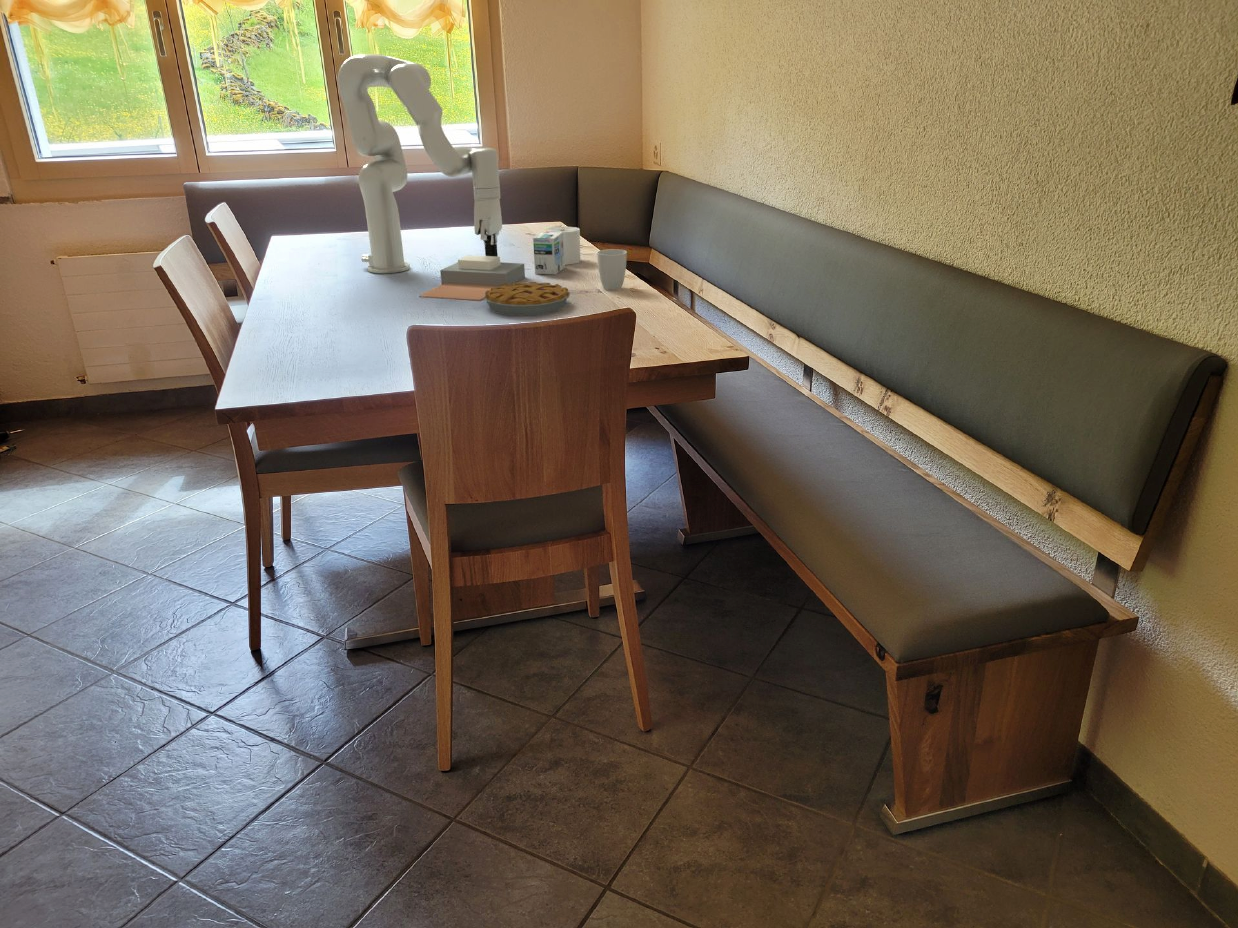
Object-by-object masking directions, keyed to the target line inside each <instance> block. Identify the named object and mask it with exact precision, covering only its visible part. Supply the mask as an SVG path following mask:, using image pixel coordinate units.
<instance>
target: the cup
mask: <svg viewBox="0 0 1238 928" xmlns="http://www.w3.org/2000/svg"><path fill="white" fill-rule="evenodd" d="M596 255H597V256H596V257H597V268H598V273H599V274H598V275H599V278H600V281H601V285H602V288H603V290H604V291H619V290H622V288H623V285H624V282H625V277H626V270H627V269H626V268H627V255H628V254H627V250H625V249H619V248H618V249H615V248H613V249H612V248H610V249H602V250H598V251H597V252H596Z"/></svg>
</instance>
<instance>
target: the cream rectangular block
mask: <svg viewBox="0 0 1238 928" xmlns="http://www.w3.org/2000/svg"><path fill="white" fill-rule="evenodd" d="M457 262H458V268H461V269H479V270H492V269H494V268H496V267H498V266H500V262H501V257H500V256H498V257H495V256H485V255H473V254H468V255H466V256H464V257H461V258H459V259H458V260H457Z"/></svg>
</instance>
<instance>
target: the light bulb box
mask: <svg viewBox="0 0 1238 928" xmlns="http://www.w3.org/2000/svg"><path fill="white" fill-rule="evenodd" d="M532 244H533V261H534V262H533V263H534V274H535V275H557V274H558V273H560V272H561V271H562V270H563V269H565V265H564V245H563V233H558V232H546V231H542V232H540V233H539V234H537V235H535V236H534V237H532Z"/></svg>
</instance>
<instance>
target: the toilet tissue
mask: <svg viewBox="0 0 1238 928" xmlns="http://www.w3.org/2000/svg"><path fill="white" fill-rule="evenodd" d="M545 232H558V233H563V245H564V266H566V265H575V264H578V263H581V262H582V260H581V259H582V257H581V231H580V228H579V227H576V226H575V227H573V226H562V225H561V224H560V225H557V226H556V225H555V226H552V227H548V228H546V229H545Z"/></svg>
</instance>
